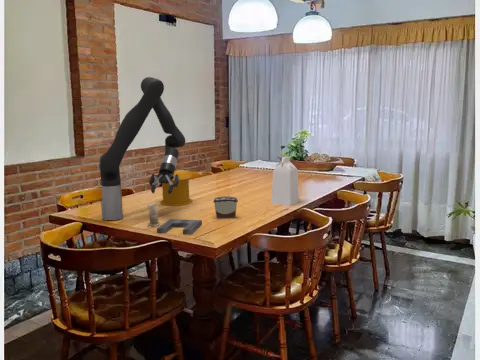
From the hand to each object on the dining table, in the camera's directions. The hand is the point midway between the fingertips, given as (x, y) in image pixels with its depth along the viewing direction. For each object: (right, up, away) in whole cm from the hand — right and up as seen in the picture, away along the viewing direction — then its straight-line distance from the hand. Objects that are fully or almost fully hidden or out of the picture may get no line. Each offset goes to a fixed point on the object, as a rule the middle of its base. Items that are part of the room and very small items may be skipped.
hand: (160, 192), depth 217 cm
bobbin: (-2, -15, -7) cm, 17 cm away
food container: (+32, -12, +6) cm, 34 cm away
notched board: (+11, -16, -13) cm, 24 cm away
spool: (+2, -7, +39) cm, 40 cm away
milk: (+64, -7, +34) cm, 73 cm away
